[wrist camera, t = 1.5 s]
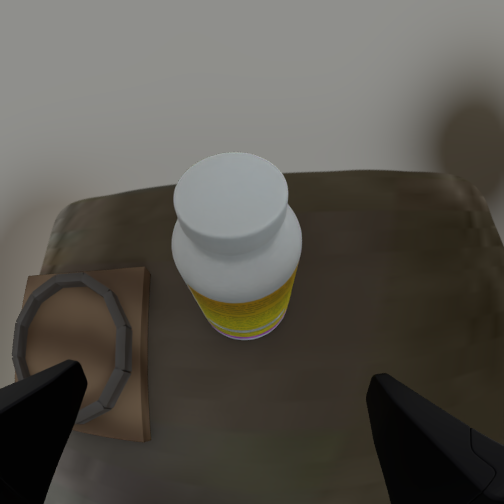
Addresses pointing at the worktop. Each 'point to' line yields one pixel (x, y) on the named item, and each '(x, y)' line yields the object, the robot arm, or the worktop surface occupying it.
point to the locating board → (92, 343)
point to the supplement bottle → (237, 242)
